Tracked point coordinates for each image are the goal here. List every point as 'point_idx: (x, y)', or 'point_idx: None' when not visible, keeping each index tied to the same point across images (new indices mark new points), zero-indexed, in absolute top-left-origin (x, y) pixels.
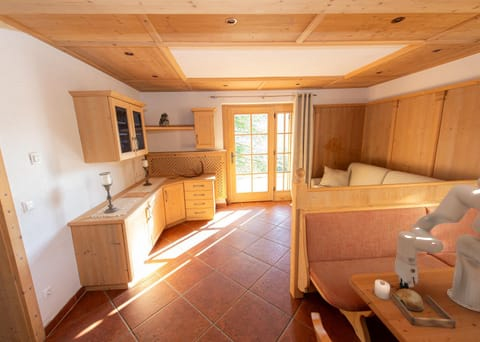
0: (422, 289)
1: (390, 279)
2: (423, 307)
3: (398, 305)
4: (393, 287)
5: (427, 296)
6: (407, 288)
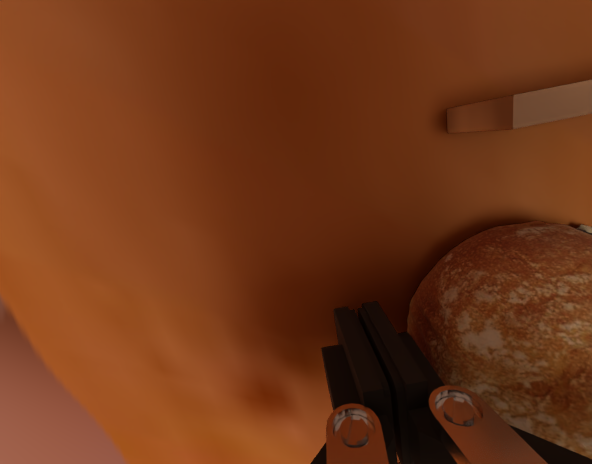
0: (216, 49)
1: (132, 377)
2: (587, 228)
3: None
4: (285, 388)
5: (541, 123)
6: (429, 367)
